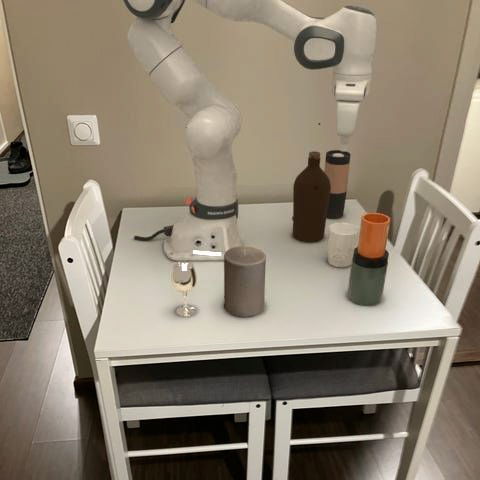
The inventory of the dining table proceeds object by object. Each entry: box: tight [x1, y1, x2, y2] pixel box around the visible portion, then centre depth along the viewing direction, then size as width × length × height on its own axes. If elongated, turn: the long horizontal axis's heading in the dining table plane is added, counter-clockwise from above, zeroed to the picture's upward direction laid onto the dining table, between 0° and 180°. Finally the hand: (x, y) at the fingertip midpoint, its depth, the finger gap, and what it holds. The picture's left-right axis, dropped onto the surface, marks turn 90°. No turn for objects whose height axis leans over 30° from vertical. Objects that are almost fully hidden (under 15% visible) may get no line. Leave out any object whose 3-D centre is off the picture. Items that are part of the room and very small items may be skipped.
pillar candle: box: [223, 245, 267, 318], centre depth 128 cm, size 10×10×15 cm
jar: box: [347, 258, 389, 307], centre depth 133 cm, size 8×8×12 cm
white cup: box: [327, 222, 360, 268], centre depth 149 cm, size 8×8×10 cm
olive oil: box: [291, 150, 331, 244], centre depth 159 cm, size 11×11×25 cm
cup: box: [357, 212, 391, 258], centre depth 127 cm, size 6×6×8 cm
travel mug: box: [323, 149, 352, 220], centre depth 174 cm, size 8×8×20 cm
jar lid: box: [353, 246, 390, 268], centre depth 130 cm, size 8×8×2 cm
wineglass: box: [170, 261, 198, 317], centre depth 127 cm, size 6×6×12 cm
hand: (344, 145), depth 137 cm, fingers open, 8 cm apart
